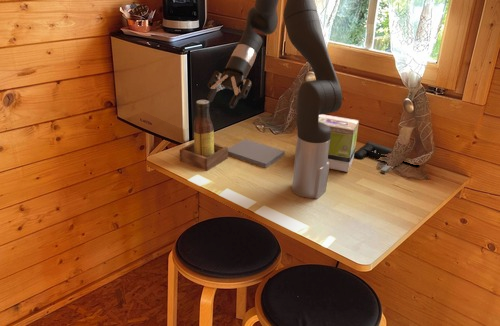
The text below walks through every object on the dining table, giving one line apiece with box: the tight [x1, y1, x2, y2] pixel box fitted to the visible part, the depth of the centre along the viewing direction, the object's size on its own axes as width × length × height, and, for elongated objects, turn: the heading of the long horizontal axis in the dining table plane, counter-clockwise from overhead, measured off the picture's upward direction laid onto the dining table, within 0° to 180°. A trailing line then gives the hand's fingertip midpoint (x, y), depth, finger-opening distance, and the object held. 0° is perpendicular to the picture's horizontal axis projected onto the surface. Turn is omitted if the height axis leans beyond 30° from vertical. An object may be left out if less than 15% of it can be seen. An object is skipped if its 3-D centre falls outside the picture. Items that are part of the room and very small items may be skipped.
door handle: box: [354, 141, 394, 175], centre depth 162 cm, size 3×20×16 cm
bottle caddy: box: [179, 142, 229, 172], centre depth 157 cm, size 11×11×4 cm
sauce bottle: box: [193, 99, 215, 157], centre depth 153 cm, size 7×6×20 cm
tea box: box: [319, 114, 360, 173], centre depth 157 cm, size 15×10×15 cm
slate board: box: [228, 138, 286, 169], centre depth 162 cm, size 16×12×2 cm
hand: (219, 103), depth 156 cm, fingers open, 8 cm apart
